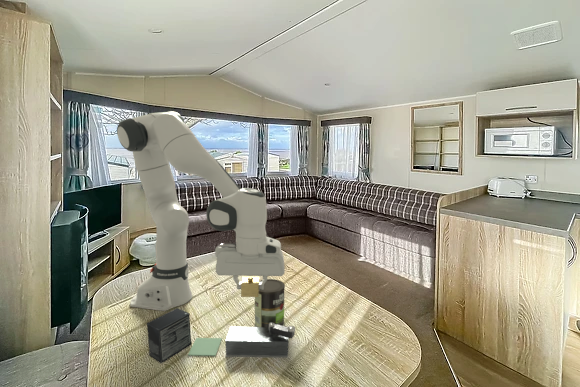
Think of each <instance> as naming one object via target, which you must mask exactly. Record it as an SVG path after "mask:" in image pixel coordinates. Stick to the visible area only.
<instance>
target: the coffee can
mask: <svg viewBox="0 0 580 387" xmlns="http://www.w3.org/2000/svg"><path fill="white" fill-rule="evenodd" d="M262 280H263V279H261V280H259V282H262ZM285 288H286V286H285V283H284V282H283V281H282V280H279V279H273V278H270V279H269V278H267V281H266V282H265V284H264V289H263V290H262V289H259V295H258V297H254V327H269V323H271V322H273V323H274V324H277V325H281V326H285Z"/></svg>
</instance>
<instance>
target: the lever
mask: <svg viewBox="0 0 580 387" xmlns="http://www.w3.org/2000/svg"><path fill="white" fill-rule="evenodd" d="M295 332H296V327H295V326H294V325H289V326H285V325H284V326H281V325H277V324H274V323H273V322H271V323H269V334H270V335H273V334H277V335H280V336H284V337H287V338H289V339H291V340H292V339H293V338H294V336H295V334H296V333H295Z"/></svg>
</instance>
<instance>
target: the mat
mask: <svg viewBox="0 0 580 387" xmlns="http://www.w3.org/2000/svg"><path fill="white" fill-rule="evenodd" d="M222 339H223V338H222V337H196V338H195V340H194V342H193V343H192V344H191V348H190V349H189V351H188V354H187V356H188V357H193V356H194V357H216V355H217V353H218V350H219V349H220V346H221V343H222V341H223V340H222Z"/></svg>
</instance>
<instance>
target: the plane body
mask: <svg viewBox="0 0 580 387" xmlns="http://www.w3.org/2000/svg"><path fill="white" fill-rule="evenodd" d="M289 339H290V338H287V337H284V336H280V335H277V334H273V335H270V334H269V327H255V326H230V327H229V330H228V333H227V335H226V339H225V358H262V359H263V358H265V359H266V358H267V359H268V358H269V359H273V358H274V359H288V358H289Z"/></svg>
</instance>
